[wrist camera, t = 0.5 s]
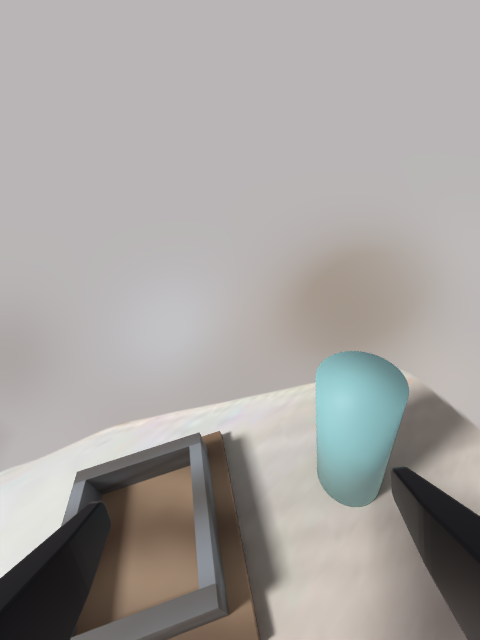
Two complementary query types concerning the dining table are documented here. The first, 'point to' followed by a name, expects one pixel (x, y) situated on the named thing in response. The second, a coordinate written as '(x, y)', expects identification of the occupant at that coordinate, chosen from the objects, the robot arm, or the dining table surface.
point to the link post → (357, 423)
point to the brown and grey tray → (167, 547)
